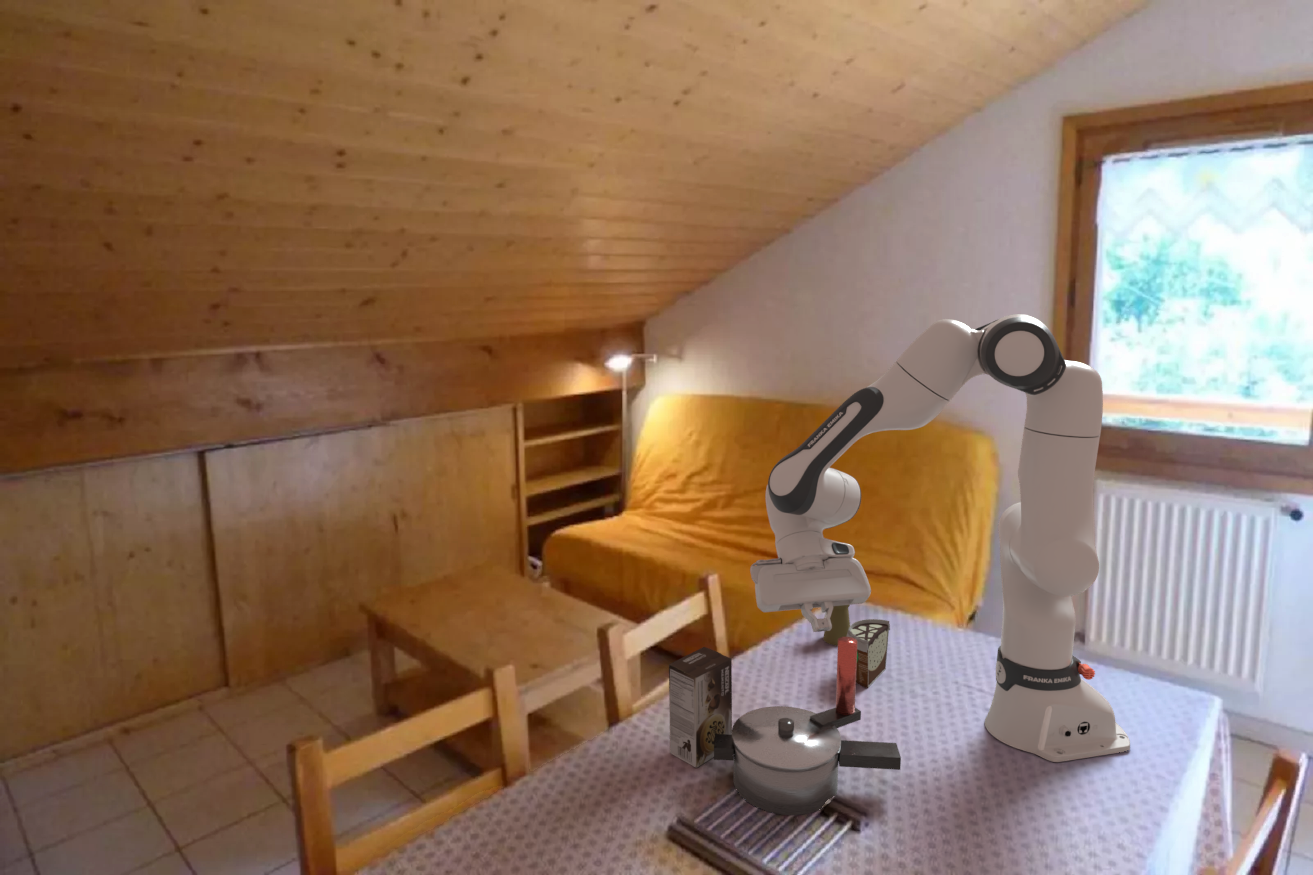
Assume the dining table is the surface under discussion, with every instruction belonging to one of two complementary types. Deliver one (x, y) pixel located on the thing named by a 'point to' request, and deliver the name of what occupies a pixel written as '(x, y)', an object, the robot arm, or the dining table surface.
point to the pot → (801, 775)
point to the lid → (801, 725)
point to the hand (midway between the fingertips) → (822, 630)
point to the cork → (838, 624)
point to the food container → (870, 649)
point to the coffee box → (699, 704)
